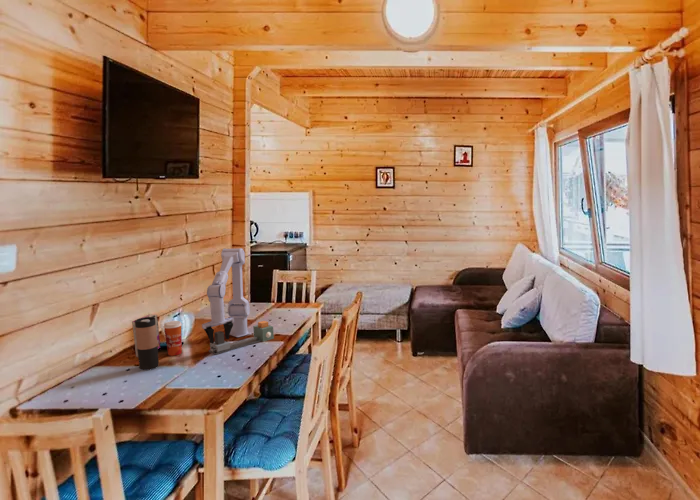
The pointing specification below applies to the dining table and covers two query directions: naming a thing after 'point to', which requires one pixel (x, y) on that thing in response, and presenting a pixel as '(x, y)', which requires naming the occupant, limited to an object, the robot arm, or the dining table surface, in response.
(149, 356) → the travel mug
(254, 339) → the rail
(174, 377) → the dining table surface
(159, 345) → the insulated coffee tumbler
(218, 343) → the carriage
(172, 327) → the paper cup
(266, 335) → the cabinet
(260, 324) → the button
